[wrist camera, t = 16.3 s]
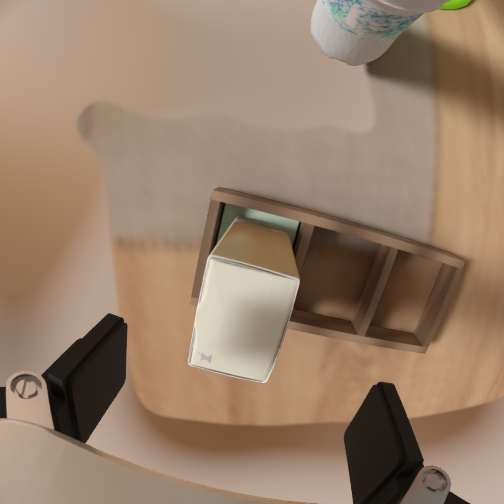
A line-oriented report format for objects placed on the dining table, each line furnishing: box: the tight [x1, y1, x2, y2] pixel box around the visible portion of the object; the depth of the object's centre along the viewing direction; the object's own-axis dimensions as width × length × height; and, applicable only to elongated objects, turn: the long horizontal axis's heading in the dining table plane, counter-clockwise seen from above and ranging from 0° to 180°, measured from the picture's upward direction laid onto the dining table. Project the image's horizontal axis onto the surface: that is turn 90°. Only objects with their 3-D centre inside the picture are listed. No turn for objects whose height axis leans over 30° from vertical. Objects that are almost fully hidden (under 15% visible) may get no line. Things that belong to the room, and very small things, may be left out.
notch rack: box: [190, 187, 465, 354], centre depth 26 cm, size 22×9×2 cm, turn 76°
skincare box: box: [188, 216, 300, 383], centre depth 20 cm, size 6×4×12 cm
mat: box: [216, 203, 299, 246], centre depth 26 cm, size 6×7×1 cm
